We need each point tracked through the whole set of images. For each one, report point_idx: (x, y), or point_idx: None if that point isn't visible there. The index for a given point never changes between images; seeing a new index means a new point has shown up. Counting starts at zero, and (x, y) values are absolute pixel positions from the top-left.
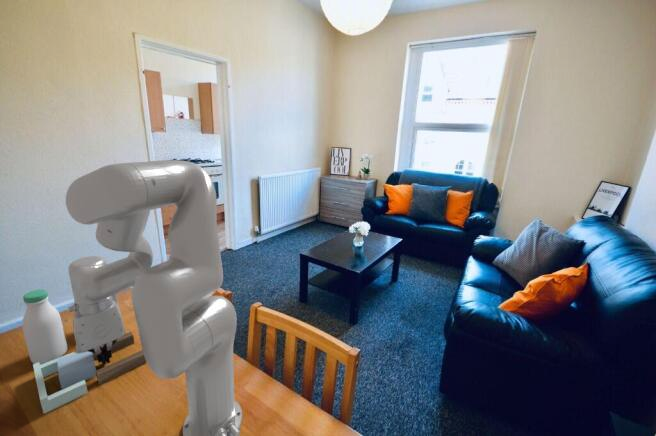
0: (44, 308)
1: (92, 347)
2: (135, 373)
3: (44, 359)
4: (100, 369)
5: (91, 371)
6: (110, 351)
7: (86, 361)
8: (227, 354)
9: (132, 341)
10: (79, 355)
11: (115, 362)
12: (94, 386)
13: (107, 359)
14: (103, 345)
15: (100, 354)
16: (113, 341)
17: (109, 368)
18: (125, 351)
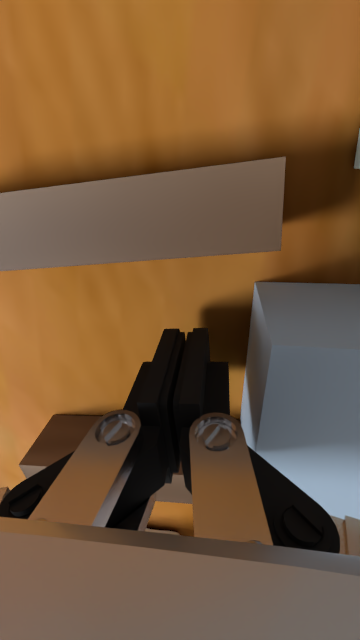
0: None
1: (329, 606)
2: (22, 110)
3: None
4: (239, 242)
5: (291, 304)
6: (131, 399)
7: (324, 400)
8: None
9: (52, 426)
10: (337, 492)
11: (114, 257)
12: (299, 164)
13: (171, 347)
14: (176, 482)
15: (205, 409)
16: (48, 488)
17: (166, 193)
18: (93, 384)
